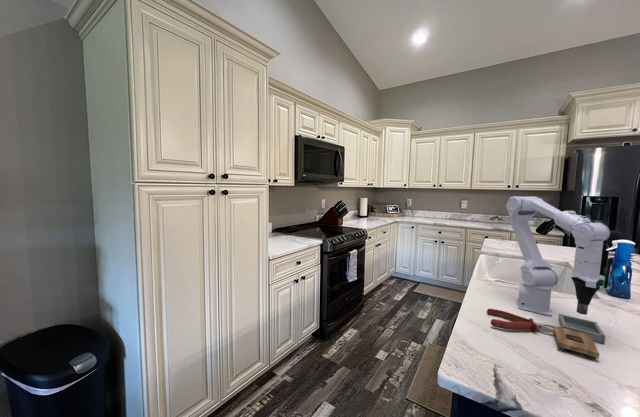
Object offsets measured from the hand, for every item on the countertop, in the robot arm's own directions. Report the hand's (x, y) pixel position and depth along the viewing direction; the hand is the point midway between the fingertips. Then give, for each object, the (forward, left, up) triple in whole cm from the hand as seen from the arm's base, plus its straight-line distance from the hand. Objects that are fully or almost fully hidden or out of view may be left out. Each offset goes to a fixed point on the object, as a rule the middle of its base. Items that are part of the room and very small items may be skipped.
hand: (582, 302), depth 82 cm
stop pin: (0, 0, -3) cm, 3 cm away
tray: (0, 0, -10) cm, 10 cm away
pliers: (-15, -10, -10) cm, 21 cm away
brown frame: (-3, -12, -10) cm, 16 cm away
